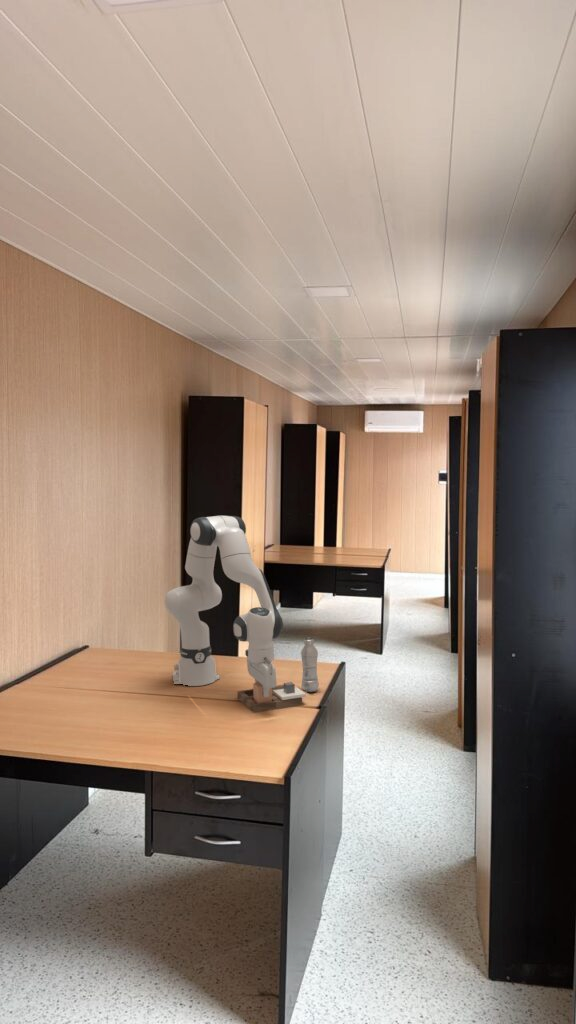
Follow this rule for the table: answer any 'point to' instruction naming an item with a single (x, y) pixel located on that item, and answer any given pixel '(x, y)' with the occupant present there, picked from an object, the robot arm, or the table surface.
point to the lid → (289, 692)
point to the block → (261, 694)
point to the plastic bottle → (309, 666)
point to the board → (276, 702)
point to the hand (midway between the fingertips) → (262, 693)
